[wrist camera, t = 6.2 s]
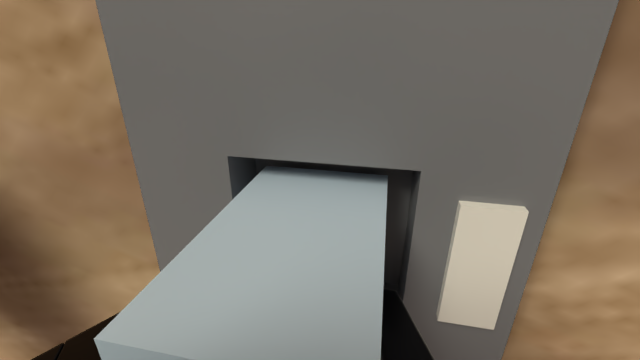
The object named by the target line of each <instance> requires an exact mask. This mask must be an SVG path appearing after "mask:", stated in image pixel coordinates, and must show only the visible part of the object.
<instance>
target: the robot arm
mask: <svg viewBox="0 0 640 360" xmlns="http://www.w3.org/2000/svg"><path fill="white" fill-rule="evenodd" d="M119 313H120V312H119ZM119 313H117V314H115V315H114V316H112V317H110V318H108V319H106V320H104V321H102V322H101V323H99V324H97V325H95V326H93V327H91V328H89V329H88V330H86V331H84V332H82V333H80V334H78V335H76V336H75V337H73V338H71V339H69V340H67V341H66V342H65V344H64V343H61V344H60V345H58V346H56V347H54V348H52V349H50V350H48V351H47V352H45V353H43V354H41V355H39V356H37V357H35V358H33V359H31V360H101V357H100V354H99V352H98V349H97V346H96V344H95V341H94V338H95V337H96V336H97V335H98V334H99V333H100V332H101V331H102V330H103V329H104V328H105V327H106V326H107V325H108V324H109V323H110V322H111V321H112V320H113V319H114V318H115V317H116V316H117V315H118V314H119ZM381 360H435V359H434V357H433V356H432V354H431V352H430V350H429V348H428V347H427V345H426V343H425V341H424V339H423V338H422V336H421V334H420V332H419V330H418V329H417V327H416V325H415V323H414V321H413V319H412V318H411V316H410V314H409V312H408V310H407V309H406V307H405V305H404V303H403V301H402V300H401V298H400V296H399V294H398V293H397V291H395V290H391V289H384V288H383V312H382V338H381Z"/></svg>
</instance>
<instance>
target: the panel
mask: <svg viewBox="0 0 640 360" xmlns="http://www.w3.org/2000/svg"><path fill="white" fill-rule="evenodd" d="M95 1H96V5H97V9H98V13H99V17H100V21H101V26H102V30H103V34H104V38H105V42H106V46H107V51H108V55H109V59H110V63H111V67H112V72H113V76H114V80H115V84H116V88H117V92H118V97H119V101H120V105H121V109H122V113H123V117H124V122H125V126H126V130H127V134H128V138H129V143H130V147H131V151H132V155H133V159H134V163H135V168H136V172H137V176H138V180H139V184H140V188H141V193H142V197H143V201H144V205H145V209H146V213H147V218H148V222H149V226H150V230H151V234H152V239H153V243H154V247H155V251H156V255H157V259H158V264H159V268H160V272H161V271H162V270H163V269H164V268H165V267H166V266H167V265H168V264H169V263H170V262H171V261H172V260H173V259H174V258H175V257H176V256H177V255H178V254H179V253H180V252H181V251H182V250H183V249H184V248H185V247H186V246H187V245H188V244H189V243H190V242H191V241H192V240H193V239H194V238H195V237H196V236H197V235H198V234H199V233H200V232H201V231H202V230H203V229H204V228H205V227H206V226H207V225H208V224H209V223H210V222H211V221H212V220H213V219H214V218H215V217H216V216H217V215H218V214H219V213H220V212H221V211H222V210H223V209H224V208H225V207H226V206H227V205H228V204H229V203H230V202H231V201H232V200H233V199H234V198H235V197H236V196H237V195H238V194H239V193H240V192H241V191H242V190H243V189H244V188H245V187H246V186H247V185H248V184H249V183H250V182H251V181H252V180H253V179H254V178H255V177H256V176H257V175H258V174H259V173H260V172H261V171H262V170H263V169H264V168H265V167H266V166H277V167H289V168H301V169H314V170H326V171H339V172H351V173H363V174H376V175H388V183H387V209H386V235H385V260H384V286H383V288H384V289H391V290H395V291H397V293H398V294H399V296H400V298H401V300H402V301H403V303H404V305H405V307H406V309H407V310H408V312H409V314H410V316H411V318H412V319H413V321H414V323H415V325H416V327H417V329H418V330H419V332H420V334H421V336H422V338H423V339H424V341H425V343H426V345H427V347H428V348H429V350H430V352H431V354H432V356H433V357H434V359H435V360H501V359H502V356H503V353H504V350H505V346H506V343H507V340H508V337H509V334H510V331H511V328H512V325H513V322H514V319H515V316H516V313H517V310H518V307H519V304H520V301H521V298H522V295H523V291H524V288H525V285H526V282H527V279H528V276H529V273H530V270H531V267H532V264H533V261H534V258H535V255H536V252H537V249H538V246H539V243H540V240H541V237H542V233H543V230H544V227H545V224H546V221H547V218H548V215H549V212H550V209H551V206H552V203H553V200H554V197H555V194H556V191H557V188H558V185H559V182H560V179H561V175H562V172H563V169H564V166H565V163H566V160H567V157H568V154H569V151H570V148H571V145H572V142H573V139H574V136H575V133H576V130H577V127H578V124H579V121H580V117H581V114H582V111H583V108H584V105H585V102H586V99H587V96H588V93H589V90H590V87H591V84H592V81H593V78H594V75H595V72H596V69H597V66H598V63H599V59H600V56H601V53H602V50H603V47H604V44H605V41H606V38H607V35H608V32H609V29H610V26H611V23H612V20H613V17H614V14H615V11H616V8H617V5H618V1H619V0H95Z"/></svg>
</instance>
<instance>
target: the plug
mask: <svg viewBox="0 0 640 360" xmlns="http://www.w3.org/2000/svg"><path fill="white" fill-rule="evenodd" d="M387 183H388V175H376V174H363V173H351V172H339V171H326V170H314V169H301V168H289V167H277V166H266V167H265V168H264V169H263V170H262V171H261V172H260V173H259V174H258V175H257V176H256V177H255V178H254V179H253V180H252V181H251V182H250V183H249V184H248V185H247V186H246V187H245V188H244V189H243V190H242V191H241V192H240V193H239V194H238V195H237V196H236V197H235V198H234V199H233V200H232V201H231V202H230V203H229V204H228V205H227V206H226V207H225V208H224V209H223V210H222V211H221V212H220V213H219V214H218V215H217V216H216V217H215V218H214V219H213V220H212V221H211V222H210V223H209V224H208V225H207V226H206V227H205V228H204V229H203V230H202V231H201V232H200V233H199V234H198V235H197V236H196V237H195V238H194V239H193V240H192V241H191V242H190V243H189V244H188V245H187V246H186V247H185V248H184V249H183V250H182V251H181V252H180V253H179V254H178V255H177V256H176V257H175V258H174V259H173V260H172V261H171V262H170V263H169V264H168V265H167V266H166V267H165V268H164V269H163V270H162V271H161V272H160V273H159V274H158V275H157V276H156V277H155V278H154V279H153V280H152V281H151V282H150V283H149V284H148V285H147V286H146V287H145V288H144V289H143V290H142V291H141V292H140V293H139V294H138V295H137V296H136V297H135V298H134V299H133V300H132V301H131V302H130V303H129V304H128V305H127V306H126V307H125V308H124V309H123V310H122V311H121V312H120V313H119V314H118V315H117V316H116V317H115V318H114V319H113V320H112V321H111V322H110V323H109V324H108V325H107V326H106V327H105V328H104V329H103V330H102V331H101V332H100V333H99V334H98V335H97V336H96V337H95V338H94V341H95V344H96V346H97V349H98V352H99V354H100V357H101V360H381V338H382V312H383V286H384V260H385V235H386V209H387Z"/></svg>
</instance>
